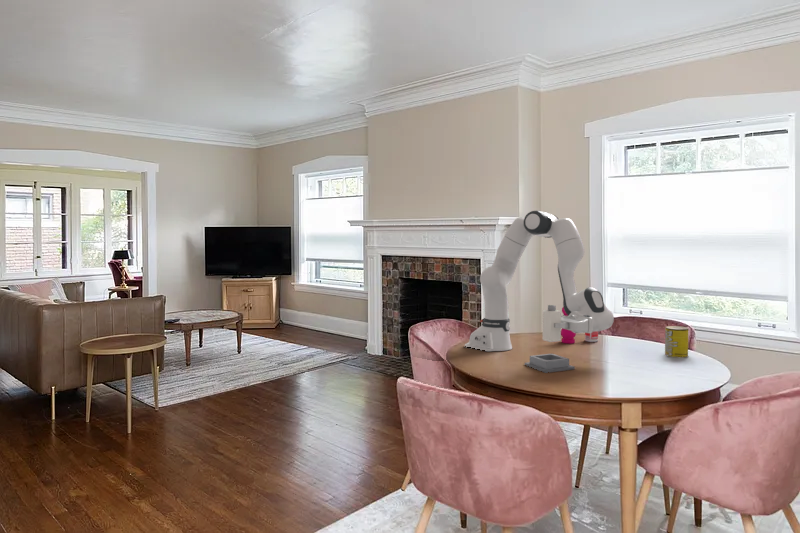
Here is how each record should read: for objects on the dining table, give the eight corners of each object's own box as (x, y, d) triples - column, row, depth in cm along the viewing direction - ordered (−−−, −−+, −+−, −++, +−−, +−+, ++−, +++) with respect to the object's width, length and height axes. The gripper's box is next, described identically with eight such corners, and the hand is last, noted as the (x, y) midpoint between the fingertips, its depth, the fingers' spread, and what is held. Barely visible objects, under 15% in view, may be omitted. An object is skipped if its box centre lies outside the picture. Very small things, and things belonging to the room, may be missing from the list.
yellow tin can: (672, 352, 250) (672, 325, 249) (692, 355, 243) (692, 328, 242) (660, 354, 245) (661, 327, 244) (680, 358, 238) (681, 330, 237)
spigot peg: (542, 339, 224) (542, 305, 224) (552, 338, 226) (553, 304, 225) (550, 342, 220) (550, 306, 219) (560, 341, 222) (560, 306, 221)
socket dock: (524, 365, 229) (524, 355, 229) (552, 361, 234) (552, 352, 234) (545, 372, 216) (545, 362, 216) (574, 369, 221) (574, 359, 221)
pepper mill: (576, 344, 271) (576, 302, 270) (561, 343, 272) (561, 302, 271) (575, 341, 278) (575, 301, 277) (559, 340, 279) (560, 301, 278)
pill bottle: (599, 340, 279) (599, 318, 278) (597, 342, 274) (597, 320, 273) (586, 339, 282) (586, 317, 281) (583, 341, 277) (584, 319, 276)
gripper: (561, 311, 237) (534, 313, 232) (595, 317, 218) (566, 320, 213) (561, 325, 237) (534, 328, 232) (595, 333, 218) (566, 336, 213)
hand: (549, 324), depth 222 cm, fingers closed on spigot peg, 5 cm apart
